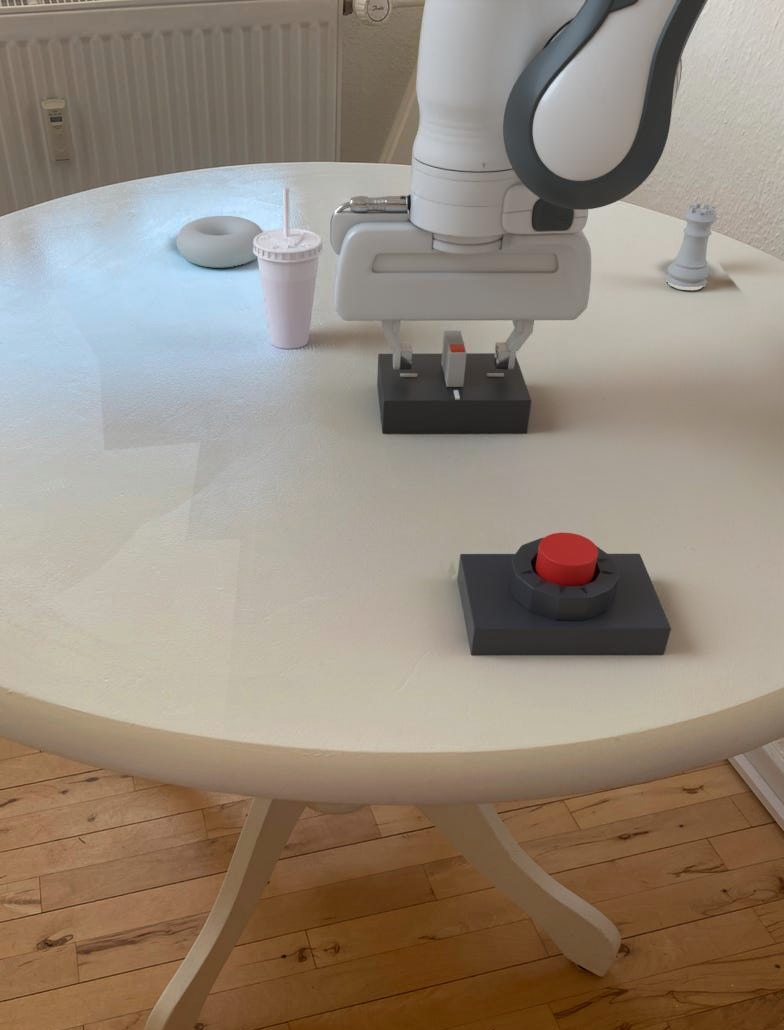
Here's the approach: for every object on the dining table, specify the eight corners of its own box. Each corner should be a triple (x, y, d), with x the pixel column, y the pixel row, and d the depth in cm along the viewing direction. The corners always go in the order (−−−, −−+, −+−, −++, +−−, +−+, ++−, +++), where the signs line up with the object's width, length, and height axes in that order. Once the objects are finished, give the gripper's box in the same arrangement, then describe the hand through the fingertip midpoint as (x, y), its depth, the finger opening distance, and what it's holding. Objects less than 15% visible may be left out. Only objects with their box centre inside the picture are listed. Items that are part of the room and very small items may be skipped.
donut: (165, 250, 122) (195, 277, 115) (163, 219, 120) (192, 245, 113) (246, 237, 125) (279, 263, 118) (245, 207, 123) (278, 232, 116)
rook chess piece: (655, 284, 113) (671, 206, 108) (678, 273, 115) (695, 197, 110) (692, 296, 110) (711, 217, 105) (715, 284, 113) (734, 207, 107)
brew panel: (511, 384, 95) (515, 351, 93) (527, 433, 88) (532, 398, 86) (376, 385, 95) (378, 351, 93) (382, 433, 88) (383, 398, 86)
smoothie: (315, 325, 105) (316, 177, 96) (328, 352, 100) (329, 198, 91) (252, 329, 104) (246, 181, 95) (261, 357, 99) (256, 203, 90)
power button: (587, 554, 68) (591, 532, 67) (599, 588, 65) (603, 565, 64) (531, 554, 68) (534, 532, 67) (540, 588, 65) (544, 565, 64)
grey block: (441, 363, 91) (444, 327, 89) (457, 363, 91) (460, 327, 89) (446, 387, 88) (449, 350, 86) (463, 387, 88) (466, 350, 86)
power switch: (633, 579, 72) (645, 530, 69) (664, 655, 66) (678, 605, 63) (457, 580, 72) (462, 530, 69) (470, 656, 66) (477, 605, 63)
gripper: (331, 209, 78) (329, 384, 86) (610, 208, 77) (579, 383, 86) (330, 183, 82) (328, 351, 91) (592, 182, 82) (565, 350, 91)
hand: (452, 367), depth 89 cm, fingers open, 7 cm apart
